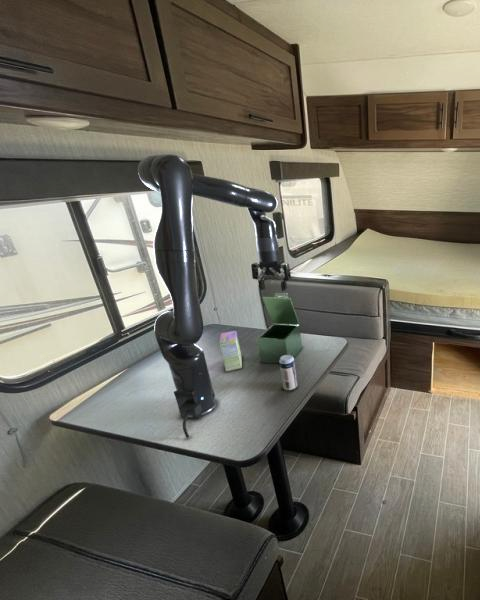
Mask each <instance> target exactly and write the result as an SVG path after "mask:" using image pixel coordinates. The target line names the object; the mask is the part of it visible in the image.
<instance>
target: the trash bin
mask: <svg viewBox="0 0 480 600" xmlns="http://www.w3.org/2000/svg"><path fill="white" fill-rule="evenodd" d="M256 342H257V346H258V353H259V358H260V363H267V364H280V363H279V361H280V358H281V357H282V356H284V355H291V356H292V357H293V358H294V359H295V357H296V356H297V355H298V353H299V352H300V350H302V348H303V343H302V334H301V327H300V324H299V325H298V324H279V323H272V325H270V326H269V327H267V329H266V330H264V331H263V332H262V333H261V334H260V335H259V336H258V337H257V338H256Z"/></svg>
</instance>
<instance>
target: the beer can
mask: <svg viewBox="0 0 480 600" xmlns="http://www.w3.org/2000/svg"><path fill="white" fill-rule="evenodd" d="M278 364H279V369H280V375H281V381H282V389H284V390H285V391H292V390H295V389H296V388H298V377H297V371H296V362H295V357H294V358H293V357H292V356H291V355H284V356H282V357H281V358H280V361H279V363H278Z"/></svg>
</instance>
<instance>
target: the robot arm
mask: <svg viewBox="0 0 480 600" xmlns="http://www.w3.org/2000/svg"><path fill="white" fill-rule="evenodd" d="M137 174H138V177H139V179H140V180H141V182H142V183H143V184H144V185H145V186H146V187H148V188H150V189H151V190H154V191H156V192H159V195H160V201H161V213H160V218H159V222H158V225H157V226H156V227H157V228H156V230H155V232H154V236H153V243H152V244H153V246H152V247H153V256H154V265H155V269H156V271H157V275H159V277H160V280H161V281H162V283H163V285H164V287H165V288H166V290H167V291H168V293H169V296H170V299H171V303H172V310H168V311H164V312H162V313H161V314H159V315H158V316H157V318H156V319H155V321H154V327H153V331H154V332H153V333H154V336H155V339H156V342H157V345H158V349H159V351H160V354H161V355H162V357H163V359H164V360H165V361H166V363H167V364H168V367H169V370H170V374H171V377H172V380H173V383H174V387H175V390H174V391H173V395H174V398H175V400H176V404H177V408H178V411H179V414H180V417H181V418H183V421H182V430H183V434H184V436H185V438H187V439H188V438H189V437H190V435H189V433H188V432H189V431H188V430H187V420H188V419H201V417H203V416H205V415H207V414H209V413H211V412H212V411H213V410H214V409H216V407H217V404H218V402H217V398H216V392H215V391H214V387H213V383H212V379H211V375H210V372H209V371H210V370H209V368H208V367H209V366H208V362H207V359H206V355H205V352H204V350H203V348H201V347H200V345H198V344H197V343H198V342H199V341H200V340H201V338H202V336H203V333H204V319H203V314H202V308H201V303H200V298H199V290H198V280H197V269H196V252H195V251H196V250H195V241H194V225H193V196H196V197H201V198H204V199H209V200H211V201H216V202H220V203H223V204H226V205H231V206H234V207H239V208H246V209H247V211H248V214H249V216H250V219H251V222H252V223H253V226H254V234H255V245H256V252H257V253H256V254H257V259H258V260H257V261H258V262H259V263H258V262H254V263H251V265H250V266H251V267H250V268H251V276H252V279H253V280H257V282H258V288H259V289H260V291H264V290H265V289H266V285H265V279H264V278H265V277H266V276H273V277H274V276H275V277H276V278H277V279H279V281H280V289H281V292H285V291H287V289H288V283H287V282H288V281H289V280H291V279H292V276H291V275H292V274H291V268H290V264H289V263H285V264H282V263H281V255H280V249H279V248H280V247H279V246H280V245H279V241H278V237H277V229H276V222H275V221H274V220H273V219H271V218H269V217H268V216H267V213H273V212H275V211H276V209H277V207H278V200H277V198H276V196H275V195H274V194H273V193H272V192H269V191H267V190H263V189H259V188H255V187H254V188H253V187H249V186H246V185H243V184H240V183H237V182H234V181H231V180H227V179H222V178H219V177H218V178H217V177H212V176H207V175H202V174H197V173H195V172H192V169H191V167H190V166H189V163H187V161H186V160H185V159H183V158H182V157H180V156H179V155H176V154H169V153H168V154H156V155H155V154H154V155H149V156H147V157H144V158H142V159H141V160H140V162H139V163H138V165H137ZM259 269H260V270H261V271H260V273H259ZM281 269H282V270H281Z"/></svg>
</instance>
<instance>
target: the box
mask: <svg viewBox="0 0 480 600" xmlns="http://www.w3.org/2000/svg"><path fill="white" fill-rule="evenodd" d="M218 345H219V349H220V353H221V356H222V361H223V366H224V370H225V372H230V371H235V370H238V369H242V368H243V367H242V366H243V361H242V358H243V357H242V351H241V346H240V342H239V337H238V333H237V330H233V331H232V330H231V331H226V332H221V333H220V337H219V344H218Z"/></svg>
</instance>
